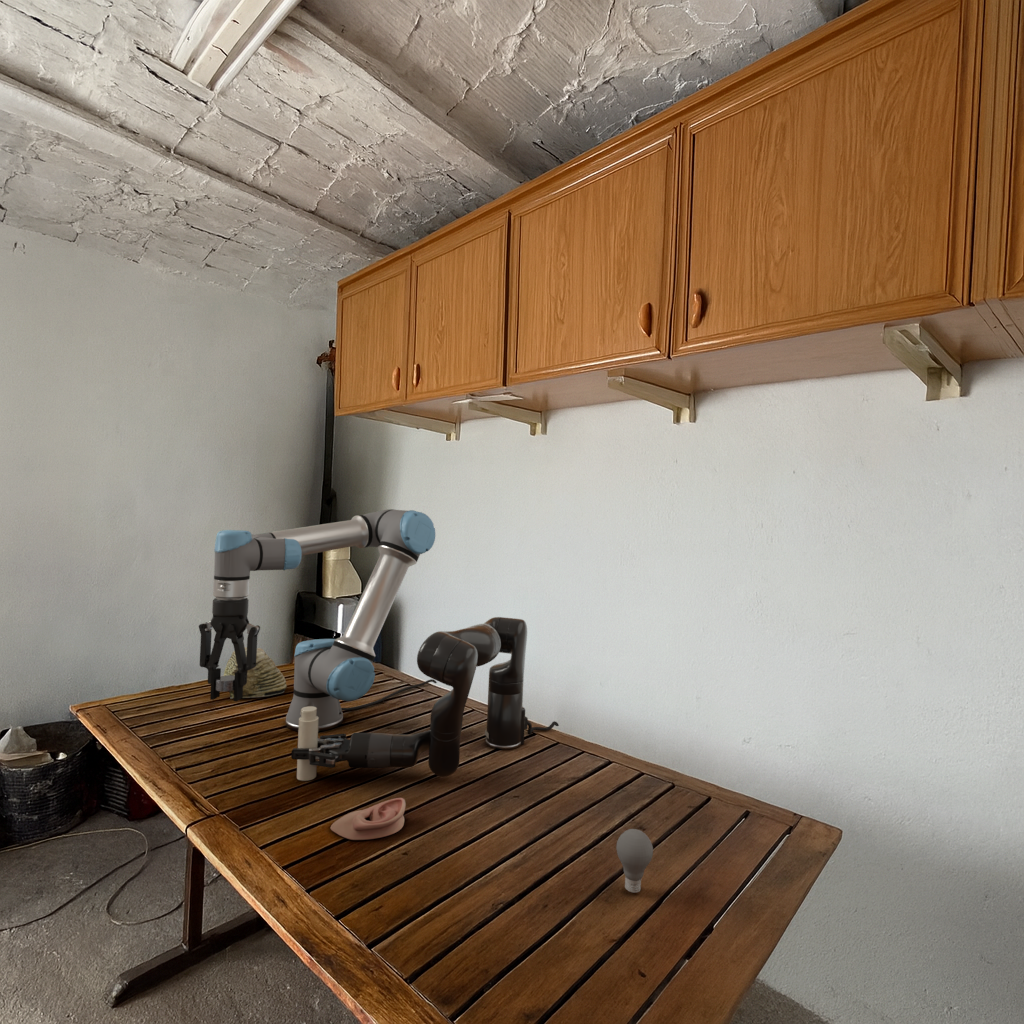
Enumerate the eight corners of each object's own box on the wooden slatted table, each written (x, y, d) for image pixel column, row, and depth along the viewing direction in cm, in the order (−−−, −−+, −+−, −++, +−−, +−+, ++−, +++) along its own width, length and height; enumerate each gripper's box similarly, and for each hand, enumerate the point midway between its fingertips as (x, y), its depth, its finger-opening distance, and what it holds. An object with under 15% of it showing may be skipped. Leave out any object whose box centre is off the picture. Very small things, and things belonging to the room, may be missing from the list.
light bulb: (610, 879, 108) (613, 822, 108) (644, 879, 109) (647, 822, 109) (619, 902, 102) (622, 840, 102) (655, 901, 103) (658, 840, 103)
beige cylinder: (292, 776, 142) (295, 708, 142) (308, 770, 146) (311, 704, 146) (304, 782, 140) (306, 713, 140) (320, 776, 143) (322, 708, 143)
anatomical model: (323, 814, 118) (350, 787, 130) (322, 835, 118) (350, 806, 130) (389, 824, 116) (412, 796, 127) (389, 846, 116) (411, 816, 127)
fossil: (218, 695, 195) (220, 647, 195) (278, 685, 208) (279, 640, 207) (228, 703, 189) (230, 653, 188) (289, 692, 201) (290, 645, 201)
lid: (238, 690, 144) (239, 680, 144) (215, 692, 142) (216, 681, 142) (237, 684, 149) (237, 674, 148) (214, 686, 146) (215, 676, 146)
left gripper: (184, 597, 142) (179, 701, 142) (261, 602, 141) (256, 706, 141) (202, 593, 149) (198, 691, 150) (275, 597, 148) (271, 696, 149)
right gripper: (376, 722, 151) (303, 721, 150) (367, 746, 137) (286, 745, 135) (375, 754, 151) (302, 753, 150) (366, 780, 137) (285, 779, 136)
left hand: (226, 698), depth 145 cm, fingers closed on lid, 5 cm apart
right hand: (295, 749), depth 143 cm, fingers closed on beige cylinder, 4 cm apart
